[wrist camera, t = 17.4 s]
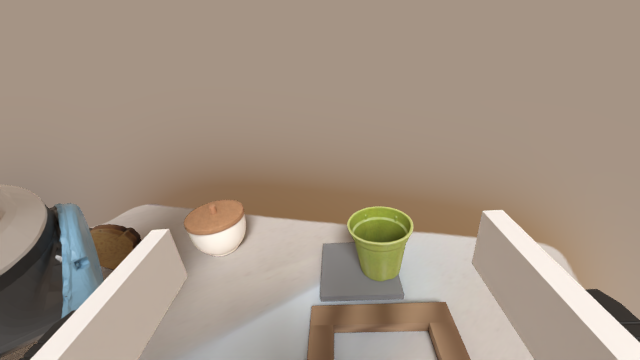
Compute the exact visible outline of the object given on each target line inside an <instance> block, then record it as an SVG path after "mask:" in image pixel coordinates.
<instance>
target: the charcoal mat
mask: <svg viewBox="0 0 640 360" xmlns="http://www.w3.org/2000/svg"><path fill="white" fill-rule="evenodd" d="M386 299H404V292H403V289H402V285H401V282H400V278H399V274H398V275H397V276H396V277H395V278H393V279H388V280H385V281H375V280H372V279H370V278H368V277H367V276H366V275H365V274H364V273H363V271H362V269H361V266H360V261H359V257H358V253H357V249H356V245H355V242H351V243H331V244H323V256H322V273H321V290H320V300H321V301H352V300H386Z"/></svg>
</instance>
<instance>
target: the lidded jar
mask: <svg viewBox="0 0 640 360" xmlns="http://www.w3.org/2000/svg"><path fill="white" fill-rule="evenodd" d="M184 226H185V229H186V230H187V232H188V235H189V237H190V239H191V241H192V242H193V244H194V245H195V246H196V247H197V248H198V249H199V250H200V251H202V252H203V253H206V254H209V255H211V256H214V257H221V256H225V255H228V254H230V253H232V252H234V251H235V250H236V249H237V248H238V247H239V245H240V243H241V242H242V240H243V238H244V236H245V232H246V219H245V215H244V209H243V206H242V204H241V203H239V202H238V201H235V200H219V201H214V202H210V203H207V204H204V205H202V206H200V207H198V208H196V209H195V210H193V211H192V212H191V213H189V214H188V215H187V217H186V218H185V221H184Z"/></svg>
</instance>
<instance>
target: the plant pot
mask: <svg viewBox="0 0 640 360" xmlns="http://www.w3.org/2000/svg"><path fill="white" fill-rule="evenodd" d="M347 227H348V231H349V233H350V234H351V235H352V238H353V239H354V241H355V245H356V249H357V253H358V257H359V261H360V266H361V269H362V271H363V273H364V274H365V275H366V276H367V277H368V278H370V279H372V280H375V281H385V280H388V279H393V278H395V277H396V276H397V275H398V274H399V271H400V267H401V262H402V258H403V253H404V249H405V245H406V242H407V240H408V238H409V236H410V235H411V234H412V231H413V222H412V220H411V219H410V217H409V216H408V215H406V214H405V213H403V212H402V211H399V210H396V209H394V208H389V207H369V208H365V209H362V210H359V211H357V212H355V213H354V214H353V215H352V216H351V217H350V218H349V220H348V223H347Z"/></svg>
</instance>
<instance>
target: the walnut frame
mask: <svg viewBox="0 0 640 360" xmlns="http://www.w3.org/2000/svg"><path fill="white" fill-rule="evenodd" d="M394 331H429V334H430V337H431V340H432V343H433V346H434V349H435V352H436V355H437V358H438V360H471V359H470V357H469V355H468V353H467V350H466V348H465V346H464V343H463V341H462V339H461V336H460V334H459V332H458V329H457V327H456V325H455V323H454V320H453V318H452V316H451V313H450V311H449V309H448V306H447V304H446V302H431V303H396V304H361V305H327V306H312V310H311V321H310V333H309V344H308V355H307V360H334V333H345V332H394Z"/></svg>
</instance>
